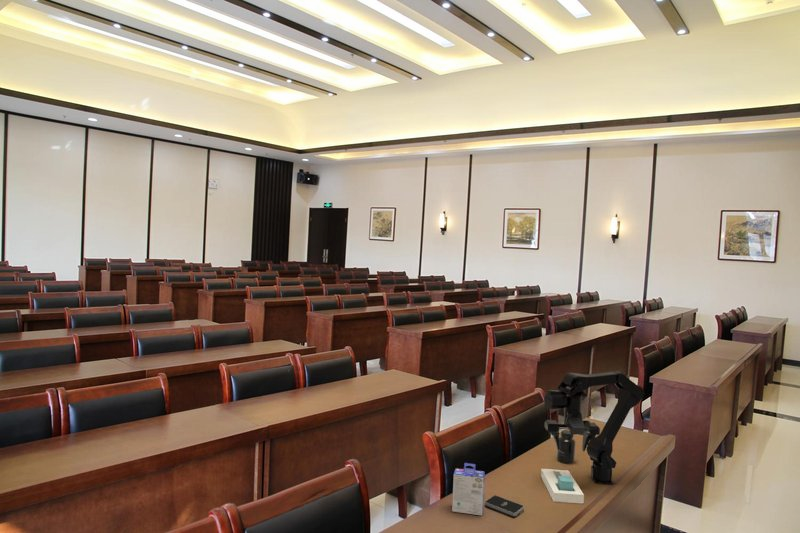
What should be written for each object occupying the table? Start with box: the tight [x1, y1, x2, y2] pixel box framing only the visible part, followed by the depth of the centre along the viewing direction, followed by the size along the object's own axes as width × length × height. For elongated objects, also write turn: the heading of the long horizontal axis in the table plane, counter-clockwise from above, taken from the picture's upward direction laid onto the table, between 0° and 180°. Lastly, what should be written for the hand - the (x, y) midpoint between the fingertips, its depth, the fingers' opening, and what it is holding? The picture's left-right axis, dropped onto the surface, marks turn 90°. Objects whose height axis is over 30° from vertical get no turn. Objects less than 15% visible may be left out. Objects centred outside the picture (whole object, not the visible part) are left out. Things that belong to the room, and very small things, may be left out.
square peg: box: [557, 476, 573, 491], centre depth 177 cm, size 4×4×6 cm
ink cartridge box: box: [451, 462, 486, 516], centre depth 164 cm, size 10×6×14 cm, turn 78°
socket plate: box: [540, 468, 585, 505], centre depth 182 cm, size 10×20×3 cm, turn 176°
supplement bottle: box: [556, 429, 576, 465], centre depth 209 cm, size 7×7×12 cm
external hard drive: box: [484, 494, 525, 519], centre depth 166 cm, size 7×11×2 cm, turn 50°
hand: (570, 450), depth 188 cm, fingers open, 9 cm apart
